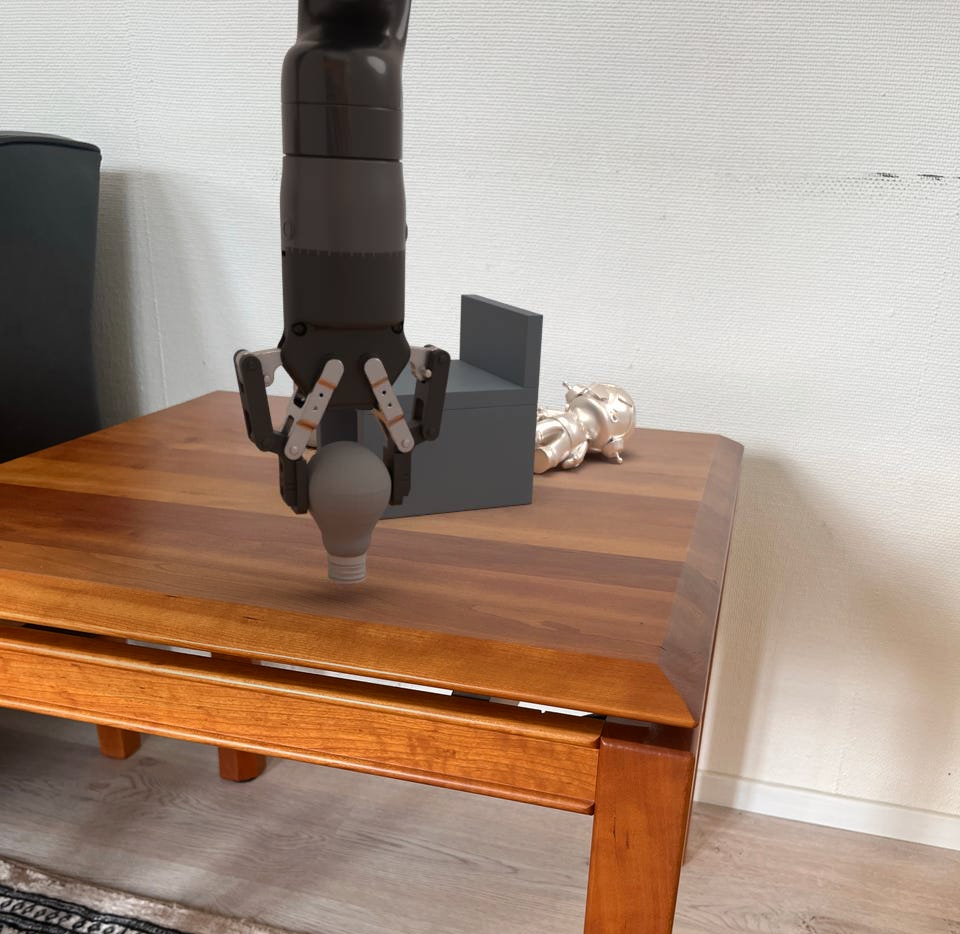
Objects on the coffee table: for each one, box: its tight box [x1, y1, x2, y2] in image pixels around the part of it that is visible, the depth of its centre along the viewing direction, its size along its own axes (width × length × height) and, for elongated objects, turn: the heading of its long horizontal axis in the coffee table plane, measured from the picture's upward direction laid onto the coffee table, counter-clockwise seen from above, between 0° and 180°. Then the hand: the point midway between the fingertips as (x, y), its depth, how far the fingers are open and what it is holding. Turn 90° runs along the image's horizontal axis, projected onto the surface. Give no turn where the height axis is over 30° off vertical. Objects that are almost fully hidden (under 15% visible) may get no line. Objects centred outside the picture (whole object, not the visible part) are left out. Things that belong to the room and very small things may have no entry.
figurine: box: [534, 380, 638, 474], centre depth 105 cm, size 11×7×15 cm
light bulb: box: [307, 441, 391, 587], centre depth 69 cm, size 6×6×10 cm
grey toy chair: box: [316, 293, 544, 520], centre depth 92 cm, size 16×14×16 cm
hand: (346, 505), depth 69 cm, fingers closed on light bulb, 6 cm apart
